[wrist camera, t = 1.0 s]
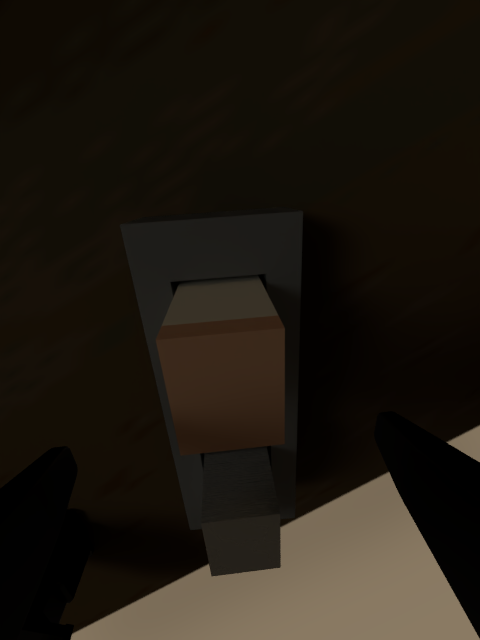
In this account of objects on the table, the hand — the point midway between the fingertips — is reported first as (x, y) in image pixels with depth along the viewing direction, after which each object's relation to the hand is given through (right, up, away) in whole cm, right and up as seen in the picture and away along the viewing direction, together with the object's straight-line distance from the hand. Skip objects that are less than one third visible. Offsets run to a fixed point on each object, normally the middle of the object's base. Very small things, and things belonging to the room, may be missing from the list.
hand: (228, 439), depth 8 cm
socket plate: (0, 0, +12) cm, 12 cm away
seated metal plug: (0, -5, +14) cm, 15 cm away
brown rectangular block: (-1, +5, +10) cm, 11 cm away
